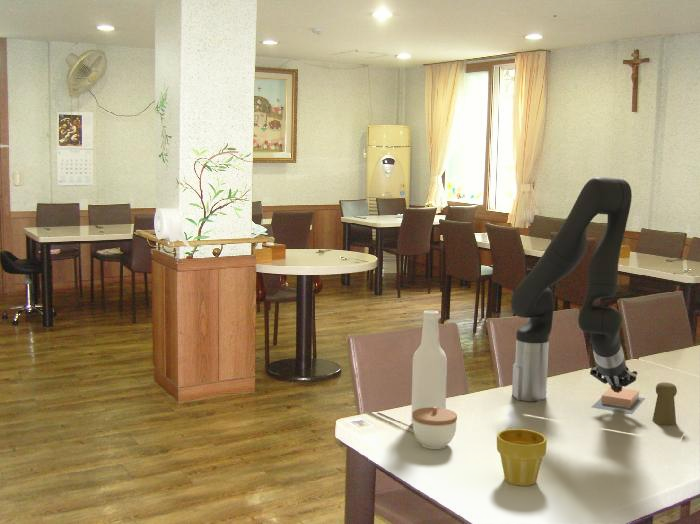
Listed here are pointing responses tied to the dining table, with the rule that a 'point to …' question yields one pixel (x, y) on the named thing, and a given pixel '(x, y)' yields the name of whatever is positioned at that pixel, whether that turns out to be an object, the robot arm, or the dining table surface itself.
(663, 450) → the dining table surface
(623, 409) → the mat
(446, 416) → the lidded jar
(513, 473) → the plant pot
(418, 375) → the alcohol
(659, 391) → the pepper mill
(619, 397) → the tile
